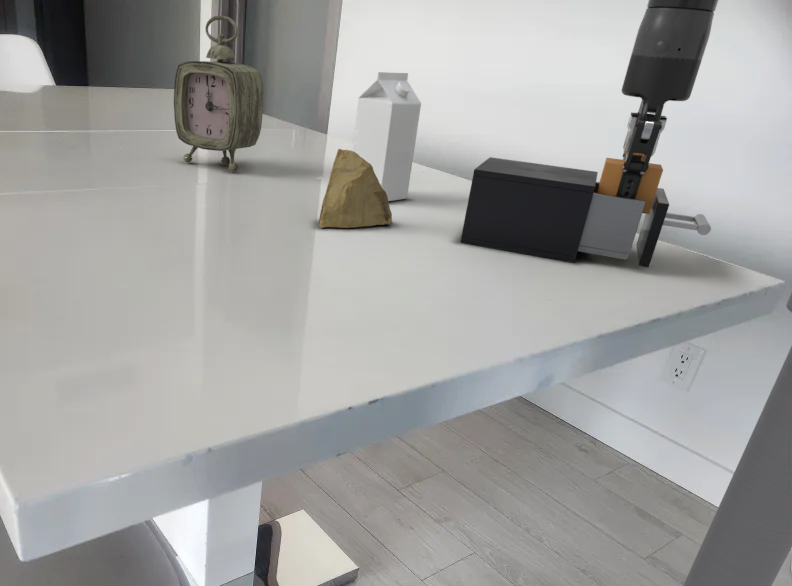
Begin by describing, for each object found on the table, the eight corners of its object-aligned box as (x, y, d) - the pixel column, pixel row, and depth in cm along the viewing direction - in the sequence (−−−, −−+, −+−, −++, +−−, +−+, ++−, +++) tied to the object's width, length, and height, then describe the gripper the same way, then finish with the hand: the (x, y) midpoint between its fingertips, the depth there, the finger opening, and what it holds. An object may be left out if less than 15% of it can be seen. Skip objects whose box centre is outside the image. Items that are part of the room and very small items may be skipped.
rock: (398, 202, 99) (333, 185, 100) (409, 161, 91) (338, 142, 92) (380, 261, 94) (312, 242, 95) (391, 222, 86) (316, 202, 87)
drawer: (689, 253, 91) (710, 195, 87) (698, 276, 81) (721, 211, 78) (543, 229, 97) (557, 173, 93) (535, 247, 87) (550, 186, 84)
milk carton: (347, 194, 112) (361, 70, 104) (375, 190, 117) (390, 71, 108) (379, 203, 108) (396, 74, 99) (407, 199, 112) (426, 75, 104)
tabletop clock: (173, 162, 126) (173, 11, 115) (205, 157, 133) (207, 15, 122) (234, 175, 120) (240, 16, 108) (264, 169, 126) (272, 20, 115)
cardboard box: (647, 207, 87) (661, 164, 85) (649, 214, 84) (663, 169, 81) (594, 199, 89) (606, 157, 87) (593, 205, 86) (605, 162, 83)
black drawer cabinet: (579, 240, 96) (597, 171, 92) (574, 263, 86) (595, 186, 81) (476, 223, 101) (489, 157, 96) (460, 242, 90) (474, 169, 86)
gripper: (709, 57, 71) (657, 217, 79) (696, 57, 83) (652, 196, 91) (633, 51, 74) (590, 206, 82) (631, 52, 86) (593, 188, 93)
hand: (623, 200), depth 86 cm, fingers closed on cardboard box, 4 cm apart
